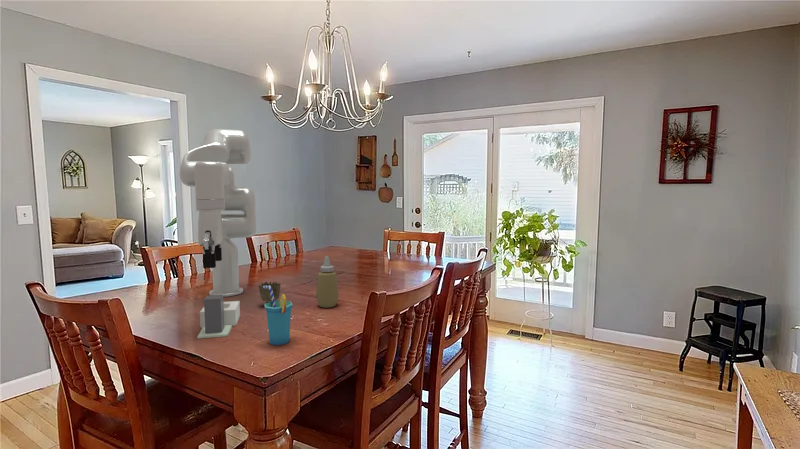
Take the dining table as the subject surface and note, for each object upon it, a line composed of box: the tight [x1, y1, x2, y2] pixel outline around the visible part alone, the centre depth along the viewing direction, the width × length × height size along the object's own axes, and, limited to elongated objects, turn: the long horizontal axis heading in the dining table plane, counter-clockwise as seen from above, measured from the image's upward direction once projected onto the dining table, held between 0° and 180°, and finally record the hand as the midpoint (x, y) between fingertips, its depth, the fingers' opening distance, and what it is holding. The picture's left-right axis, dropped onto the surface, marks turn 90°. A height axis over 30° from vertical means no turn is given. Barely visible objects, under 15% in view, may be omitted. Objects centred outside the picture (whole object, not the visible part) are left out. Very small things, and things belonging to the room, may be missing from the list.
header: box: [199, 300, 241, 329], centre depth 131 cm, size 10×10×5 cm
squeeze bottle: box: [315, 255, 340, 309], centre depth 148 cm, size 8×8×18 cm
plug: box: [203, 295, 225, 334], centre depth 121 cm, size 4×4×10 cm
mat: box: [197, 325, 233, 339], centre depth 122 cm, size 8×8×1 cm
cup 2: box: [258, 281, 281, 304], centre depth 149 cm, size 8×7×8 cm
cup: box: [263, 286, 293, 346], centre depth 115 cm, size 14×8×15 cm, turn 46°
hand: (212, 264), depth 120 cm, fingers open, 9 cm apart
